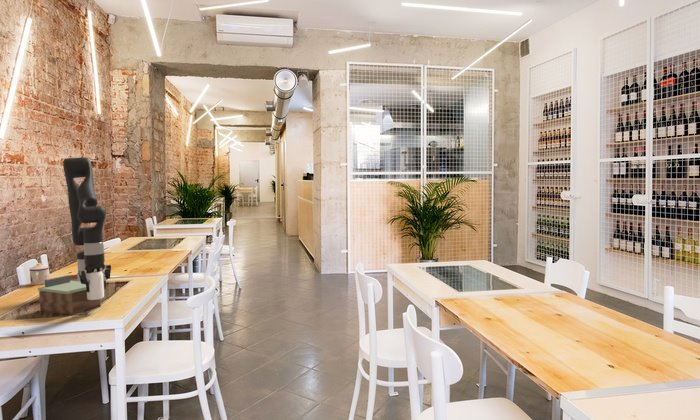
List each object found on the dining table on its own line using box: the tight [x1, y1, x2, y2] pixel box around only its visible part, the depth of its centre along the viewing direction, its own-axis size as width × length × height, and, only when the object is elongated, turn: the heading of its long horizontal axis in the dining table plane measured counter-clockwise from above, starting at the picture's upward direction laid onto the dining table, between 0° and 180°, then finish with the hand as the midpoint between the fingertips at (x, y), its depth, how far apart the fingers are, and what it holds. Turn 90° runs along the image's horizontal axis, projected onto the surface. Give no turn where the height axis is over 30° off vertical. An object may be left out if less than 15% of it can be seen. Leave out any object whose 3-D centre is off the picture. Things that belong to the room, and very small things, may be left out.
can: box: [86, 271, 105, 300], centre depth 191 cm, size 6×6×12 cm
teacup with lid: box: [29, 262, 50, 286], centre depth 250 cm, size 12×9×12 cm
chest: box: [38, 290, 101, 316], centre depth 198 cm, size 20×14×9 cm
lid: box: [37, 275, 86, 294], centre depth 197 cm, size 20×15×4 cm
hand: (96, 291), depth 192 cm, fingers closed on can, 5 cm apart
